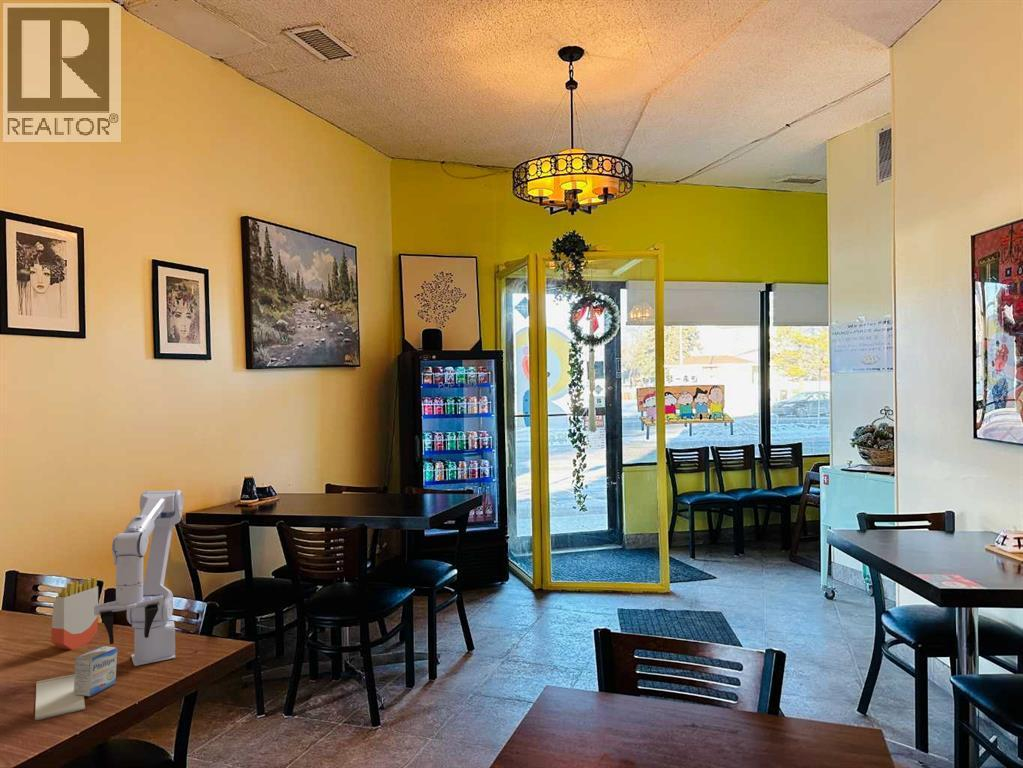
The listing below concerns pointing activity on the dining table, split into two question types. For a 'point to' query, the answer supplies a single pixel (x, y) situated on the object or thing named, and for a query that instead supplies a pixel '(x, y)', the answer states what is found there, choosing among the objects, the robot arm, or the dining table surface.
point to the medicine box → (95, 671)
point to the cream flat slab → (57, 697)
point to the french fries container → (75, 614)
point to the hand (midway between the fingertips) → (129, 639)
